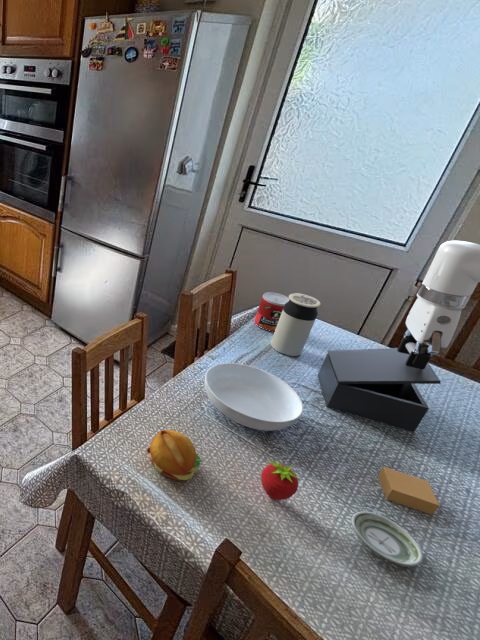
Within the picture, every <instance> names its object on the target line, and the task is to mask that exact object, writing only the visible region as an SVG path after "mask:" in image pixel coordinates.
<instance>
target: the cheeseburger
mask: <svg viewBox="0 0 480 640" xmlns="http://www.w3.org/2000/svg"><path fill="white" fill-rule="evenodd" d="M193 443H194V442H193V441H192V440H191V439H190V438H189V437H188V436H187V435H186V434H184V433H182V432H180V431H176V430H174V429H163V430H160V431H159V432H158V433H157V434H156V435H154V437H153V438H152V440H151V442H150V444H149V447H148V448H147V449H146V452H147V453H148V455H149V457H150V458H149V459H150V462H151V464H152V465H153V467H154V469H156V470H157V471H158V472H159V473H160V474H162V475H163V476H165V477H166V478H169V479H171V480H174V481H175V480H176V481H180V482H181V481H187V480H190V479H192V478H193V476H194V474H195V472H196V471H197V470H198V469H199V466H200V465H201V463H202V462H203V461H202V458H201V457H200V456H199V455H198V453H197V450H196V447H195V445H194V444H193Z"/></svg>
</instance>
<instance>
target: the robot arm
mask: <svg viewBox="0 0 480 640" xmlns="http://www.w3.org/2000/svg"><path fill="white" fill-rule="evenodd" d="M479 283H480V244H478V243H475V242H470V241H464V240H449V241H445V242H443V243H442V244H440V246H439V247H438V249H437V251H436V253H435V256H434V257H433V260H432V262H431V264H430V266H429V267H428V269H427V272H426V274H425V276H424V278H423V281H422V283H421V284H420V287H419V289H418V291H417V293H416V297H417V298H416V300H415V302H414V303H413V304H412V307H411V308H410V311H409V312H408V315H407V317H406V319H405V327H406V330H405V332H404V333H403V338H402V339H401V341H400V343H399V345H398V347H397V348H398V349H397V350H398V352H400V353H405V354H410V355H409V357H408V359H407V361H406V363H405V364H406V366H409V367H414V368H418V369H425V367H426V365H427V363H429V361H430V359H431V358H432V357H433V356H434V355H438V354H439V353H440V348H441V349H446V348H448V347H449V345H450V343H451V341H452V339H453V337H454V334H455V332H456V330H457V328H458V325H459V322H460V319H461V316H462V311H463V310H462V309H464V308H465V307H466V305H467V304H468V302H469V300H470V299H471V296H472V295H473V294H474V291H475V289H476V287H477V285H478V284H479ZM409 342H413V343H415V344H416V346H415V350H414V351H411V353H409V351H408V350H407V348H406V346H405V345H406V344H407V343H409ZM422 345H423V346H428V347H422Z"/></svg>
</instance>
